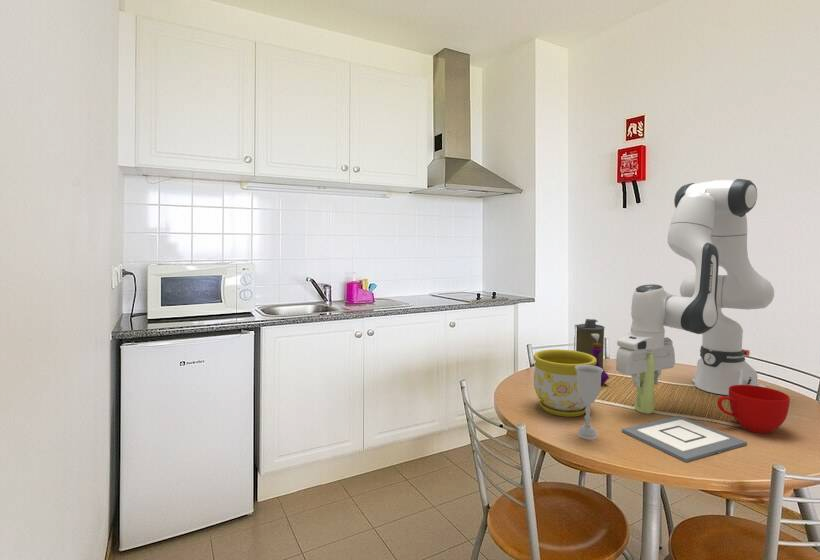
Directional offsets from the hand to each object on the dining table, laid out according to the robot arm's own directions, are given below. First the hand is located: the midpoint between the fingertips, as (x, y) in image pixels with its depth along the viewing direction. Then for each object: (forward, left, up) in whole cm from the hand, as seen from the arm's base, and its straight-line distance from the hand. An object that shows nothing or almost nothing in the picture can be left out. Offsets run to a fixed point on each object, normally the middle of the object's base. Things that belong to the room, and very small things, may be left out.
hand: (645, 385), depth 132 cm
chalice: (+28, +6, -8) cm, 30 cm away
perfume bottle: (-6, -26, -8) cm, 28 cm away
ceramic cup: (-15, +20, -8) cm, 26 cm away
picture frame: (+7, +17, -8) cm, 20 cm away
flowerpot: (+21, -11, -8) cm, 25 cm away
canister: (-17, -40, -8) cm, 44 cm away
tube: (0, 0, -8) cm, 8 cm away
